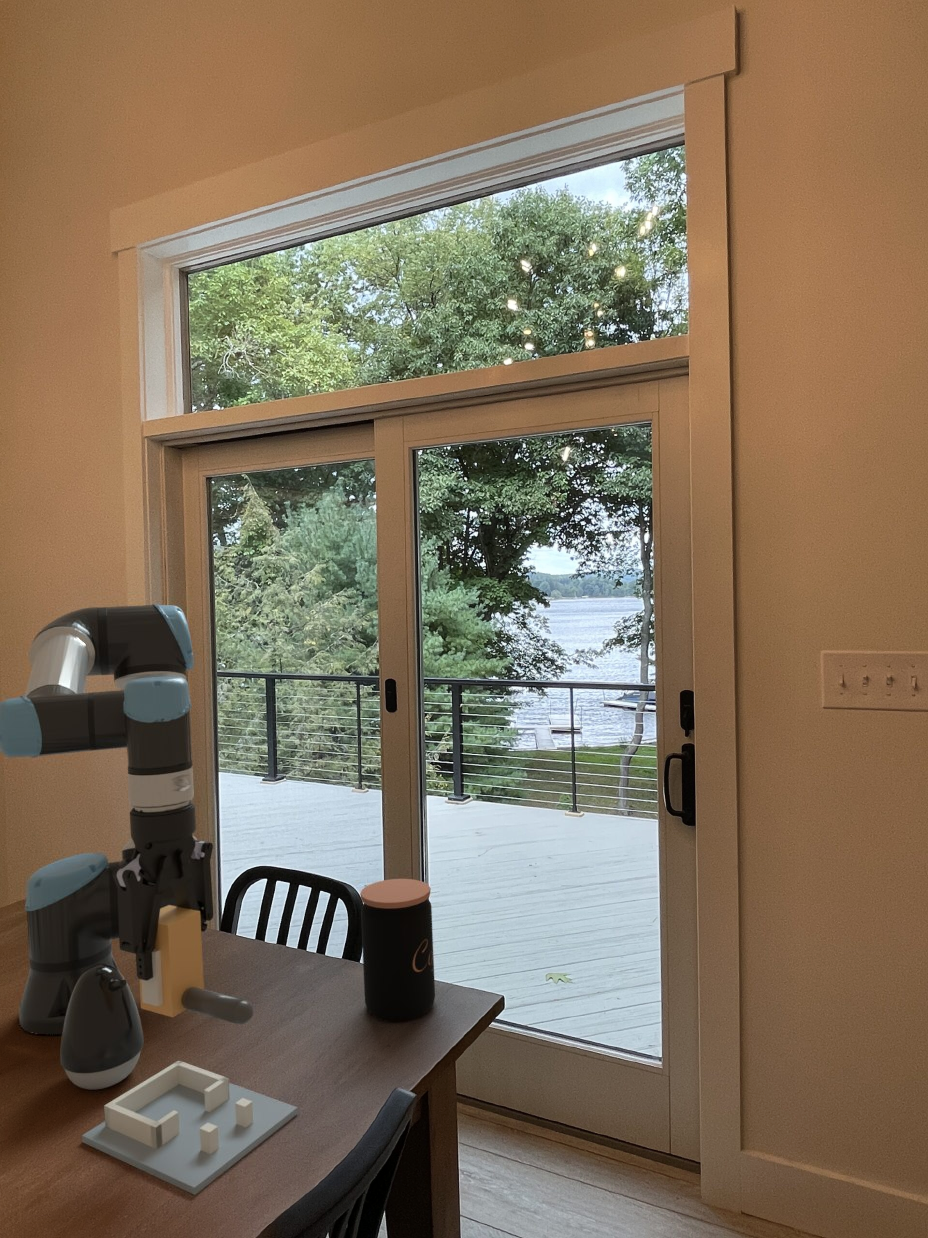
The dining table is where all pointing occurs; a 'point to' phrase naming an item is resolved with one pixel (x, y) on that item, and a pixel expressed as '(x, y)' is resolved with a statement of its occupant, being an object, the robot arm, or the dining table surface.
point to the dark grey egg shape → (101, 1030)
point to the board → (187, 1125)
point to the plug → (189, 971)
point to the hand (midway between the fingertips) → (171, 993)
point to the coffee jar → (397, 949)
